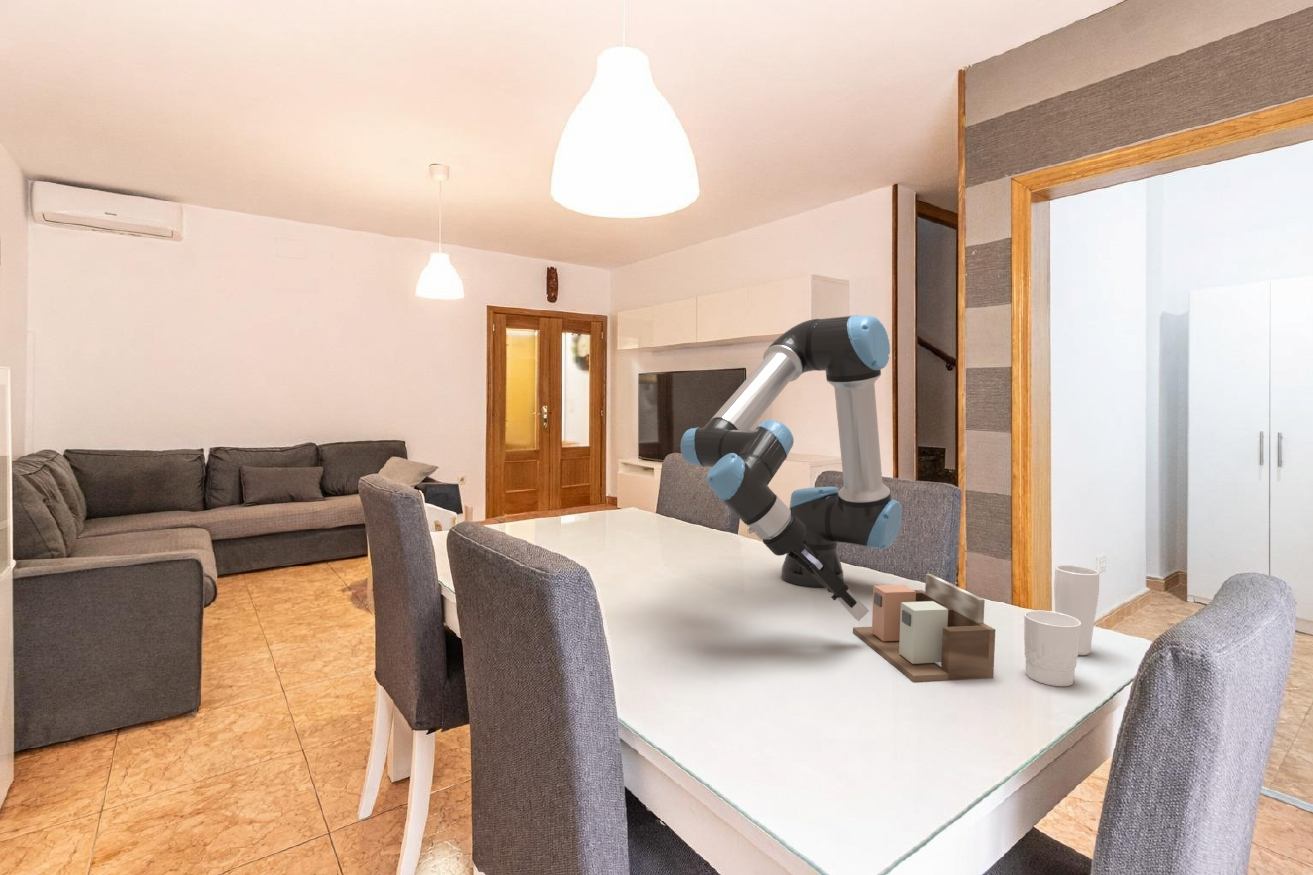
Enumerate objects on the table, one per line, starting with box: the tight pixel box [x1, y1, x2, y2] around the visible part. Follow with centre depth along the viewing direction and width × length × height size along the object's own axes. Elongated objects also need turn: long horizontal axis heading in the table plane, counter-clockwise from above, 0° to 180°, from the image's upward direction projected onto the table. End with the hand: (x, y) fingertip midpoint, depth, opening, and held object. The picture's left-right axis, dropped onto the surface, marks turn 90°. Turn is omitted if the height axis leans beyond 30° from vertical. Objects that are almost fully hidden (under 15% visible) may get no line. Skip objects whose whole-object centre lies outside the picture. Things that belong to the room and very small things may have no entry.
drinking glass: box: [1053, 564, 1100, 656], centre depth 117 cm, size 7×7×15 cm
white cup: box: [1023, 609, 1081, 687], centre depth 105 cm, size 8×8×10 cm
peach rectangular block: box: [871, 584, 916, 641], centre depth 120 cm, size 4×6×9 cm
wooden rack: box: [852, 573, 996, 683], centre depth 115 cm, size 22×14×12 cm, turn 8°
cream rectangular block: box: [899, 601, 948, 664], centre depth 110 cm, size 4×6×9 cm
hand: (862, 614), depth 118 cm, fingers closed
